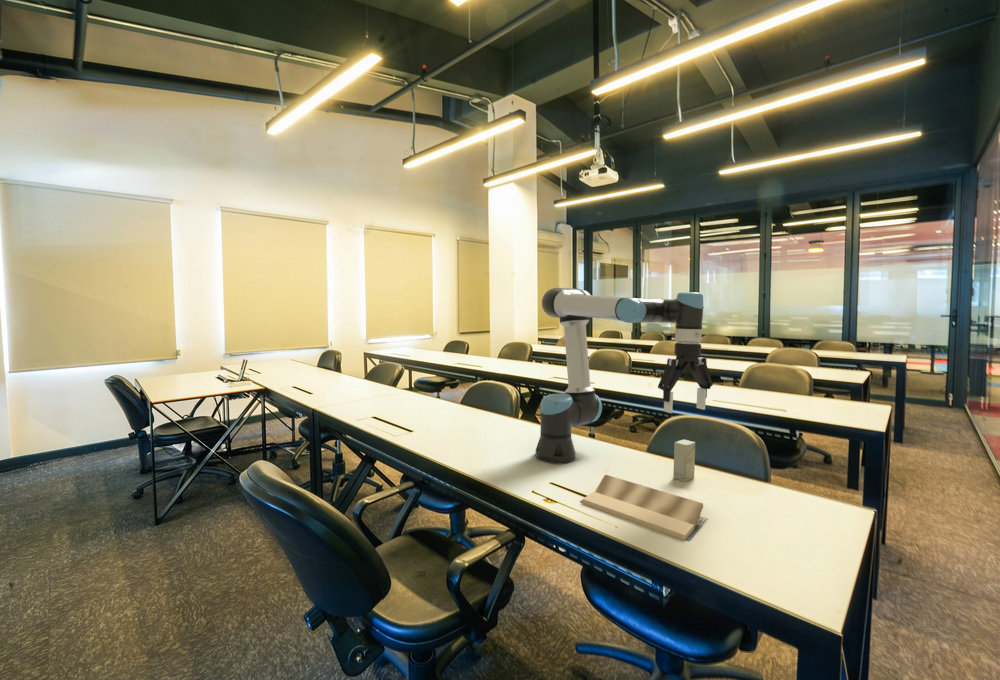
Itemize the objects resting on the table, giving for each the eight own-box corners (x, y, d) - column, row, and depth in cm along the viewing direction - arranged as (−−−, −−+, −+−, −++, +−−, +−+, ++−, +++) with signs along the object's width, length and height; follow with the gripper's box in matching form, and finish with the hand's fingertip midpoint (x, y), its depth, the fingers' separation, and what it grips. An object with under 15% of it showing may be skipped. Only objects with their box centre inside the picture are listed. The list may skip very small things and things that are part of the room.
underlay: (579, 505, 119) (579, 497, 119) (604, 489, 130) (605, 482, 130) (689, 545, 99) (689, 536, 99) (708, 522, 110) (708, 514, 110)
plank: (595, 494, 124) (594, 491, 123) (605, 477, 128) (605, 474, 127) (695, 528, 105) (694, 524, 104) (703, 506, 109) (702, 503, 109)
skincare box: (685, 482, 136) (686, 445, 135) (672, 477, 140) (673, 442, 139) (694, 477, 140) (696, 441, 139) (681, 473, 144) (683, 438, 143)
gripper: (666, 344, 121) (662, 416, 122) (727, 343, 131) (723, 409, 132) (647, 342, 128) (644, 410, 129) (707, 341, 137) (703, 404, 139)
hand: (684, 410), depth 131 cm, fingers open, 13 cm apart
